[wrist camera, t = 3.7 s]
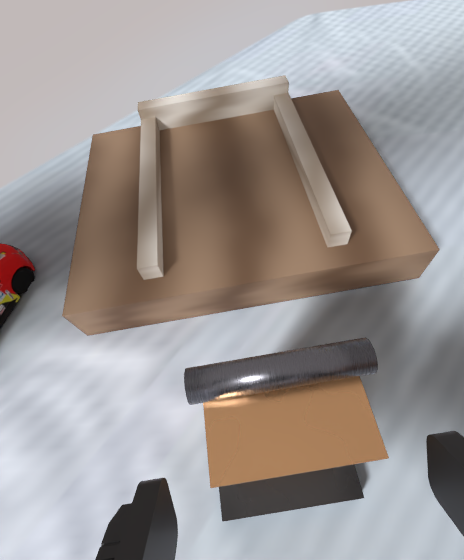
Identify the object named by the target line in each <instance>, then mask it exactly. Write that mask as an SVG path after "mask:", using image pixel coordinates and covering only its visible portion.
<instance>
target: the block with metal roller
mask: <svg viewBox="0 0 464 560" xmlns="http://www.w3.org/2000/svg"><path fill="white" fill-rule="evenodd" d="M377 368H378V364H377V358H376V354H375V351H374V348H373V346H372V344H371V342H370V341H369V340H368V339H367V338H360V339H354V340H348V341H342V342H336V343H331V344H325V345H319V346H313V347H307V348H302V349H296V350H290V351H284V352H278V353H272V354H267V355H261V356H255V357H249V358H243V359H238V360H232V361H226V362H220V363H214V364H209V365H203V366H197V367H191V368H186V369H185V373H184V383H185V391H186V397H187V400H188V403H189V404H190V405H193V404H198V403H203V406H204V417H205V429H206V441H207V452H208V464H209V475H210V487H211V488H214V487H219V492H220V502H221V512H222V521H228V520H234V519H240V518H246V517H252V516H258V515H265V514H271V513H277V512H283V511H289V510H295V509H301V508H307V507H313V506H319V505H325V504H331V503H337V502H343V501H349V500H355V499H361V498H364V496H363V492H362V489H361V486H360V482H359V479H358V476H357V472H356V469H355V466H354V464H359V463H364V462H370V461H376V460H382V459H387V458H389V457H388V454H387V451H386V449H385V446H384V443H383V440H382V438H381V435H380V432H379V429H378V426H377V424H376V421H375V418H374V415H373V412H372V410H371V407H370V404H369V401H368V398H367V396H366V393H365V390H364V387H363V384H362V382H361V379H360V376H363V375H368V374H374V373H376V372H377Z"/></svg>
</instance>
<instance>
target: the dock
mask: <svg viewBox="0 0 464 560" xmlns="http://www.w3.org/2000/svg"><path fill="white" fill-rule="evenodd" d="M288 87H289V82H288V80H287V78H286V76H279V77H274V78H268V79H263V80H257V81H252V82H246V83H241V84H236V85H230V86H225V87H219V88H214V89H208V90H203V91H197V92H192V93H187V94H181V95H176V96H170V97H165V98H159V99H154V100H148V101H143V102H138V112H139V115H140V118H141V126H138V127H133V128H127V129H122V130H116V131H111V132H105V133H100V134H94V135H93V137H92V143H91V149H90V155H89V161H88V167H87V173H86V178H85V184H84V190H83V196H82V202H81V208H80V214H79V220H78V226H77V232H76V238H75V244H74V249H73V255H72V261H71V267H70V273H69V279H68V285H67V291H66V297H65V303H64V309H63V315H62V316H63V317H64V318H66V319H67V320H68V321H70V322H71V323H72V324H73V325H75V326H76V327H77V328H78V329H80V330H81V331H82V332H84V333H85V334H86V335H87V336H88V335H94V334H100V333H105V332H111V331H117V330H123V329H128V328H134V327H140V326H145V325H151V324H157V323H163V322H168V321H174V320H180V319H186V318H191V317H197V316H203V315H209V314H214V313H220V312H226V311H231V310H237V309H243V308H249V307H254V306H260V305H266V304H272V303H277V302H283V301H289V300H294V299H300V298H306V297H312V296H317V295H323V294H329V293H335V292H340V291H346V290H352V289H357V288H363V287H369V286H375V285H380V284H386V283H392V282H398V281H403V280H409V279H415V278H419V277H420V276H421V274H422V273H423V272H424V270H425V269H426V267H427V266H428V265H429V263H430V262H431V261H432V259H433V258H434V257H435V255H436V254H437V252H438V251H439V250H440V249H439V248H438V246H437V245H436V243H435V242H434V240H433V238H432V237H431V235H430V234H429V232H428V231H427V229H426V227H425V226H424V224H423V223H422V221H421V219H420V218H419V216H418V215H417V213H416V212H415V210H414V208H413V207H412V205H411V204H410V202H409V201H408V199H407V197H406V196H405V194H404V193H403V191H402V190H401V188H400V186H399V185H398V183H397V182H396V180H395V178H394V177H393V175H392V174H391V172H390V171H389V169H388V167H387V166H386V164H385V163H384V161H383V160H382V158H381V156H380V155H379V153H378V152H377V150H376V148H375V147H374V145H373V144H372V142H371V141H370V139H369V137H368V136H367V134H366V133H365V131H364V130H363V128H362V126H361V125H360V123H359V122H358V120H357V119H356V117H355V115H354V114H353V112H352V111H351V109H350V107H349V106H348V104H347V103H346V101H345V100H344V98H343V96H342V95H341V93H340V92H339V90H335V91H330V92H324V93H319V94H313V95H308V96H303V97H297V98H292V99H291V98H290V95H289V93H288Z"/></svg>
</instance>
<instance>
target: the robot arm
mask: <svg viewBox="0 0 464 560" xmlns="http://www.w3.org/2000/svg"><path fill="white" fill-rule="evenodd" d="M427 462H428V478H429V483H430V486H431V489H432V491H433V493H434V495H435V497H436V499H437V500H438V502H439V503H440V505H441V506H442V507H443V509H444V510H445V512H446V513H447V514H448V516H449V517H450V518H451V520H452V521H453V522H454V524H455V525H456V527H457V528H458V529H459V531H460V532H461V533H462V535H463V536H464V437H463V436H462V435H460V434H459V433H458V432H456V431H450V432H444V433H438V434H432V435H428V436H427ZM177 537H178V528H177V518H176V514H175V510H174V506H173V502H172V498H171V495H170V491H169V487H168V483H167V480H166V479H165V478H159V479H153V480H147V481H141V482H140V483H139V484H138V487H137V490H136V493H135V496H134V499H133V502H132V503H131V504H125V505H122V506H121V507H120V509H119V510H118V511H117V513H116V514H115V516H114V517H113V518H112V520H111V521H110V522H109V524H108V527H107V530H106V532H105V535H104V538H103V541H102V543H101V544H102V546H101V547H100V549H99V551H98V554H97V557H96V559H95V560H175V554H176V547H177Z"/></svg>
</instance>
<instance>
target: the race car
mask: <svg viewBox="0 0 464 560" xmlns="http://www.w3.org/2000/svg"><path fill="white" fill-rule="evenodd" d="M31 270H32V271H35V269H34V266H33V264H32V262H31V261H30V259H29V258H28V257H26V256H25V254H24V253H23V252H22V251H21V250H20V249H18V248H15V247H13V246H10V245H7V244H1V243H0V327H1V326H2V324H3V323H4V321H5V320H6V318H7V317H8V315H9V314H10V312H11V311H12V309H13V308H14V306H15V305H16V303H17V302H18V300H19V299H20V296H19V295H17V294H16V293H25V292H27V289H28V287H29V286H30V284H31V283H32V282H33V281H34V274H33V272H32V271H31ZM15 292H16V293H15Z"/></svg>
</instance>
